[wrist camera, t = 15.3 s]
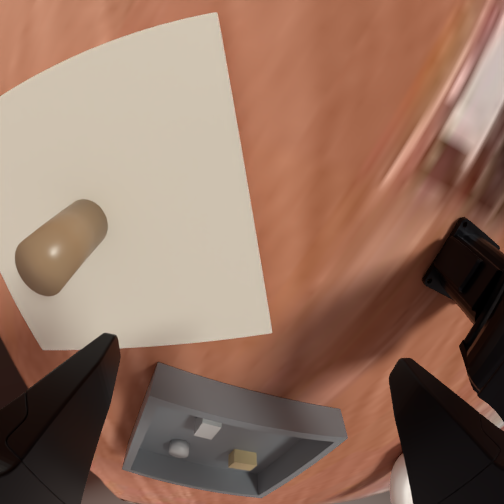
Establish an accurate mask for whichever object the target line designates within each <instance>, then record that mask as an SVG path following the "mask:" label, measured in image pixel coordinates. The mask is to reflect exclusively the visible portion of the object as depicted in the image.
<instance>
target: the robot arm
mask: <svg viewBox="0 0 504 504" xmlns="http://www.w3.org/2000/svg"><path fill="white" fill-rule="evenodd" d="M464 222H465V223H464ZM463 223H464V225H463ZM428 279H429V280H428ZM427 280H428V281H427ZM422 281H423V283H424V284H425V285H426V286H427V287H429V288H431V289H433V290H435V291H437V292H439V293H441V294H443V295H445V296H447V297H449V298H451V299H452V300H454V301H455V302H456V304H457V305H458V306H459V307H460V308H461V310H462V311H463V312H464V313H465V314H466V316H467V317H468V318H469V319H470V321H471V322H472V323H473V324H474V325H473V327H472V328H471V330H470V331H469V333H468V335H467V336H466V338H465V339H464V340H463V341H462V342H461V344H460V345H459V348H460V351H461V354H462V357H463V360H464V363H465V366H466V370H467V375H468V377H469V380H470V383H471V385H472V387H473V390H474V391H476V392H477V395H478V397H479V398H481V399H482V400H484V401H485V402H486V403H488V404H489V405H490V406H491V407H492V408H493V409H494V410H495V411H496V412H497V413H498V415H499V416H500V417H501V419H502V420H503V421H504V254H503V253H502V252H501V251H500V247H499V246H498V245H497V244H496V243H495V242H494V241H493V240H492V239H491V238H489V237H488V236H487V235H486V234H485V233H484V232H482V231H481V230H480V229H479V228H478V227H477V226H475V225H474V224H473V223H472V222H471V221H469V220H468V219H467V218H465V217H462V218H460V220H459V221H458V223H457V225H456V226H455V228H454V230H453V231H452V233H451V235H450V236H449V238H448V240H447V241H446V243H445V245H444V246H443V248H442V249H441V251H440V253H439V254H438V256H437V257H436V259H435V260H434V262H433V263H432V265H431V266H430V268H429V269H428V271H427V272H426V274H425V275H424V277H423V280H422ZM119 363H120V348H119V342H118V337H117V335H115V334H110V333H103V334H101V335H100V336H99V337H97V338H96V339H94V340H93V341H92V342H90V343H89V344H88V345H86V346H85V347H84V348H82V349H81V350H80V351H78V352H77V353H76V354H74V355H73V356H72V357H70V358H69V359H68V360H66V361H65V362H64V363H62V364H61V365H60V366H58V367H57V368H56V369H54V370H53V371H52V372H50V373H49V374H48V375H46V376H45V377H44V378H42V379H41V380H40V381H38V382H37V383H36V384H34V385H33V386H32V387H30V388H29V389H28V390H27V391H26V393H25V392H24V393H22V394H21V395H20V396H19V397H17V398H16V399H15V400H13V401H12V402H10V403H9V404H8V405H6V406H5V407H3V408H2V409H0V504H81V500H82V496H83V492H84V488H85V485H86V481H87V478H88V474H89V470H90V467H91V464H92V460H93V457H94V453H95V450H96V447H97V444H98V440H99V437H100V434H101V431H102V428H103V425H104V422H105V419H106V416H107V413H108V410H109V406H110V403H111V399H112V394H113V390H114V385H115V381H116V376H117V372H118V367H119ZM389 385H390V391H391V397H392V403H393V410H394V416H395V421H396V426H397V430H398V434H399V438H400V442H401V447H402V451H403V455H404V460H405V465H406V469H407V474H408V479H409V484H410V490H411V495H412V501H413V504H504V431H502V430H501V429H499V428H498V427H497V426H495V425H494V424H493V423H491V422H490V421H489V420H488V419H486V418H485V417H484V416H483V415H481V414H479V412H478V411H476V410H475V409H474V408H473V407H472V406H470V405H469V404H468V403H467V402H465V401H464V400H463V399H462V398H460V397H459V396H458V395H457V394H455V393H454V392H453V391H452V390H450V389H449V388H448V387H447V386H445V385H444V384H443V383H442V382H440V381H439V380H438V379H437V378H435V377H434V376H433V375H432V374H430V373H429V372H428V371H427V370H425V369H424V368H423V367H421V366H420V365H419V364H418V363H416V362H415V361H414V360H413V359H411V358H401V359H399V360H398V362H397V363H396V365H395V367H394V368H393V370H392V372H391V373H390V376H389Z"/></svg>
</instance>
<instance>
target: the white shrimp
mask: <svg viewBox="0 0 504 504" xmlns="http://www.w3.org/2000/svg"><path fill="white" fill-rule="evenodd" d="M390 500H391V504H413V501H412V495H411V490H410V484H409V479H408V474H407V469H406V465H405V460H404V455H403V454H401V455H400V456H399V458H398V459H397V460H396V462H395V464H394V466H393V469H392V473H391V479H390Z"/></svg>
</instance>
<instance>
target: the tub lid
mask: <svg viewBox="0 0 504 504" xmlns="http://www.w3.org/2000/svg"><path fill="white" fill-rule="evenodd" d="M0 272H1V274H2V276H3V279H4V281H5V283H6V285H7V287H8V289H9V291H10V293H11V295H12V297H13V299H14V301H15V303H16V305H17V307H18V309H19V311H20V312H21V314H22V316H23V318H24V320H25V321H26V323H27V325H28V327H29V328H30V330H31V332H32V334H33V335H34V337H35V339H36V340H37V342H38V343H39V345H40V347H41V348H42V350H81V349H82V348H84V347H85V346H86V345H88V344H89V343H90V342H92V341H93V340H94V339H96V338H97V337H99V336H100V335H101V334H103V333H110V334H115V335H117V337H118V342H119V348H136V347H151V346H164V345H176V344H187V343H197V342H207V341H216V340H224V339H233V338H240V337H248V336H255V335H263V334H270V333H272V327H271V320H270V314H269V308H268V302H267V296H266V289H265V283H264V277H263V271H262V265H261V259H260V253H259V247H258V241H257V235H256V230H255V224H254V218H253V212H252V206H251V200H250V194H249V188H248V182H247V177H246V171H245V165H244V159H243V153H242V148H241V142H240V136H239V130H238V125H237V119H236V113H235V107H234V102H233V96H232V90H231V85H230V79H229V73H228V68H227V62H226V57H225V51H224V45H223V40H222V34H221V29H220V23H219V18H218V14H217V12H215V13H209V14H204V15H199V16H195V17H190V18H186V19H182V20H178V21H174V22H170V23H166V24H162V25H159V26H155V27H152V28H148V29H145V30H142V31H139V32H136V33H133V34H130V35H127V36H124V37H121V38H118V39H115V40H113V41H110V42H107V43H105V44H102V45H100V46H97V47H95V48H92V49H90V50H87V51H85V52H83V53H80V54H78V55H76V56H74V57H71V58H69V59H67V60H65V61H63V62H61V63H59V64H57V65H55V66H53V67H51V68H49V69H47V70H45V71H43V72H41V73H39V74H37V75H35V76H34V77H32V78H30V79H28V80H26V81H25V82H23V83H21V84H19V85H18V86H16V87H14V88H13V89H11V90H9V91H8V92H6V93H5V94H3V95H2V96H0Z"/></svg>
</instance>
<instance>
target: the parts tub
mask: <svg viewBox="0 0 504 504" xmlns="http://www.w3.org/2000/svg"><path fill="white" fill-rule="evenodd" d="M347 438H348V437H347V433H346V429H345V425H344V421H343V417H342V414H341V410H340V409H337V408H331V407H325V406H320V405H314V404H309V403H304V402H299V401H294V400H290V399H285V398H280V397H276V396H272V395H268V394H263V393H259V392H255V391H251V390H247V389H244V388H240V387H236V386H233V385H229V384H225V383H222V382H218V381H215V380H212V379H208V378H205V377H202V376H198V375H195V374H192V373H189V372H186V371H183V370H180V369H177V368H174V367H171V366H168V365H165V364H162V363H160V362H158V363H157V366H156V368H155V371H154V374H153V376H152V379H151V382H150V384H149V387H148V390H147V392H146V395H145V398H144V401H143V403H142V406H141V409H140V412H139V414H138V417H137V420H136V423H135V426H134V428H133V431H132V434H131V437H130V440H129V443H128V446H127V450H126V454H125V459H124V463H123V467H122V469H123V470H126V471H129V472H132V473H135V474H138V475H142V476H145V477H149V478H152V479H156V480H160V481H164V482H168V483H172V484H176V485H181V486H185V487H190V488H195V489H200V490H205V491H211V492H217V493H223V494H230V495H238V496H246V497H256V498H262V497H264V496H266V495H268V494H269V493H271V492H272V491H274V490H276V489H277V488H279V487H281V486H282V485H284V484H285V483H287V482H288V481H290V480H291V479H293V478H294V477H296V476H297V475H299V474H300V473H302V472H303V471H305V470H306V469H308V468H309V467H310V466H312V465H313V464H315V463H316V462H317V461H319V460H320V459H321V458H323V457H324V456H326V455H327V454H328V453H329V452H331V451H332V450H333V449H335V448H336V447H337V446H339V445H340V444H341V443H342V442H344V441H345V440H346V439H347Z"/></svg>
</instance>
